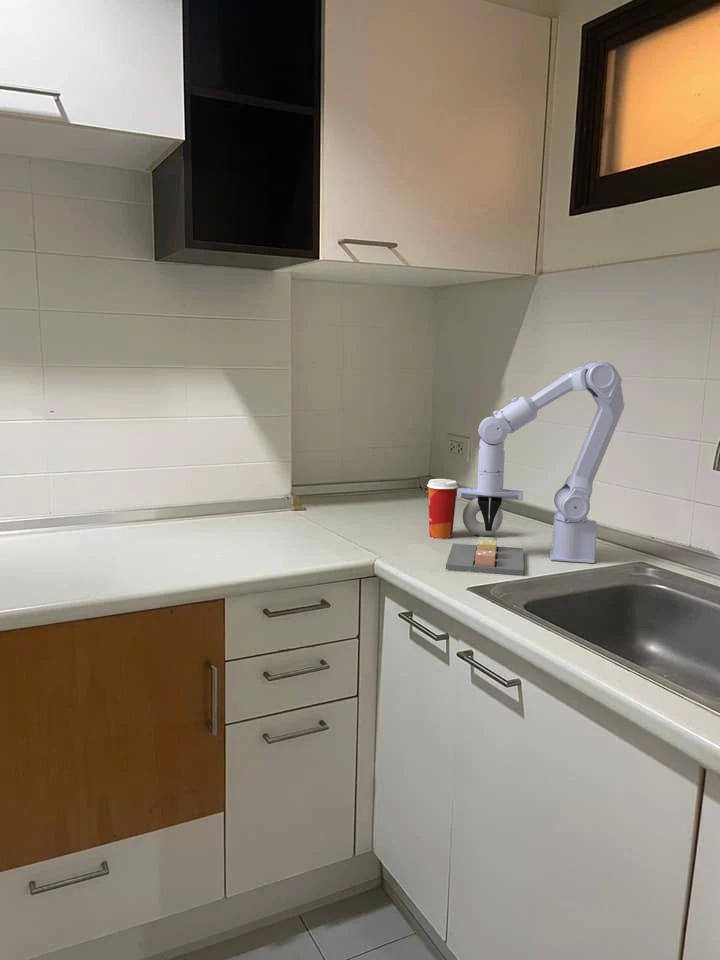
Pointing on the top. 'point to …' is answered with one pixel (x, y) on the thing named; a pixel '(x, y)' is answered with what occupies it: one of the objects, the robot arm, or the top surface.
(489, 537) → the tile one pip
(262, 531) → the top surface
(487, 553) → the tile three pips
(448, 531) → the paper cup
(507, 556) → the grey slotted tray
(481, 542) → the tile two pips
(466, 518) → the donut
